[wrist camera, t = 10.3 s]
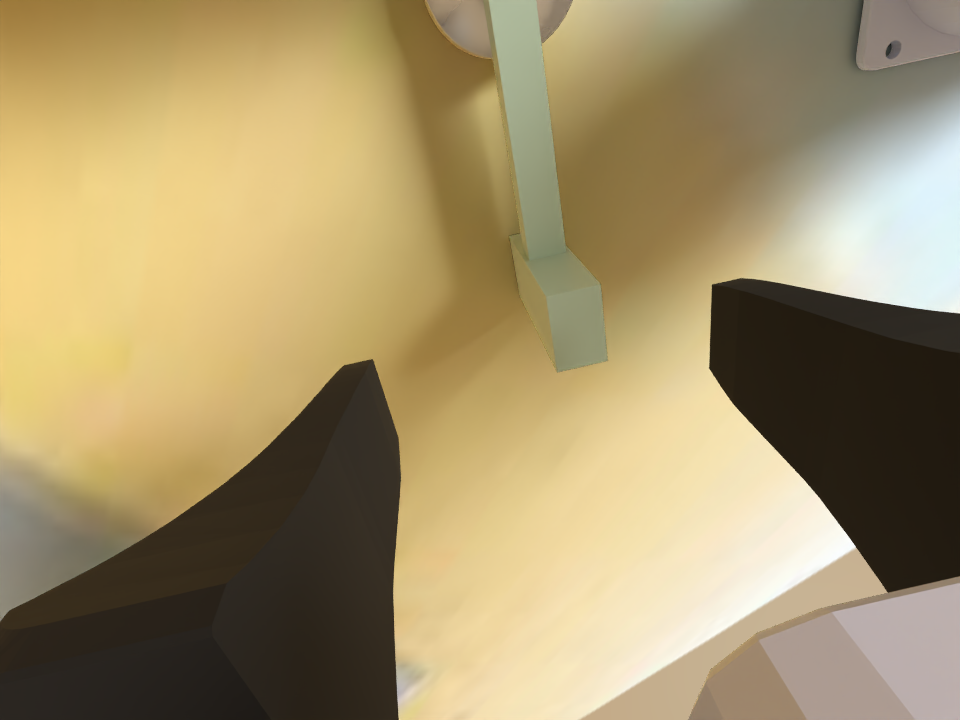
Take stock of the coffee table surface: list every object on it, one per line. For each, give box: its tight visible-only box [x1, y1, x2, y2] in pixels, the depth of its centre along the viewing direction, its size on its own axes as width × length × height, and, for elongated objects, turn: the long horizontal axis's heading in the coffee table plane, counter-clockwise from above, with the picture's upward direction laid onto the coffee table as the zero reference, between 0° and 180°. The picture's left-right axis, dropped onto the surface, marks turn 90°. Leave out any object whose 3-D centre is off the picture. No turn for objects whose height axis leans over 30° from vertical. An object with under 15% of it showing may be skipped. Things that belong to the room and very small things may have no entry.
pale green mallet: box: [483, 0, 608, 372], centre depth 15 cm, size 4×13×6 cm, turn 11°
